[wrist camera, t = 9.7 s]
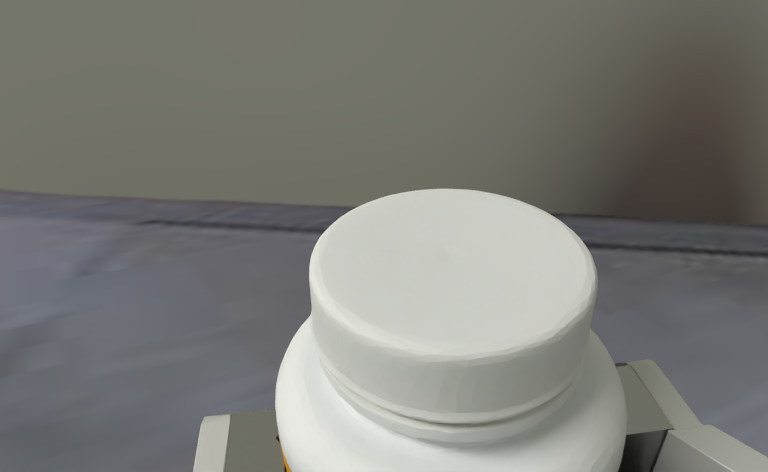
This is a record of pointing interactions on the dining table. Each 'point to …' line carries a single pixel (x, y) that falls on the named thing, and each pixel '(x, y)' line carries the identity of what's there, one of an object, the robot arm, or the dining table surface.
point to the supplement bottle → (450, 344)
